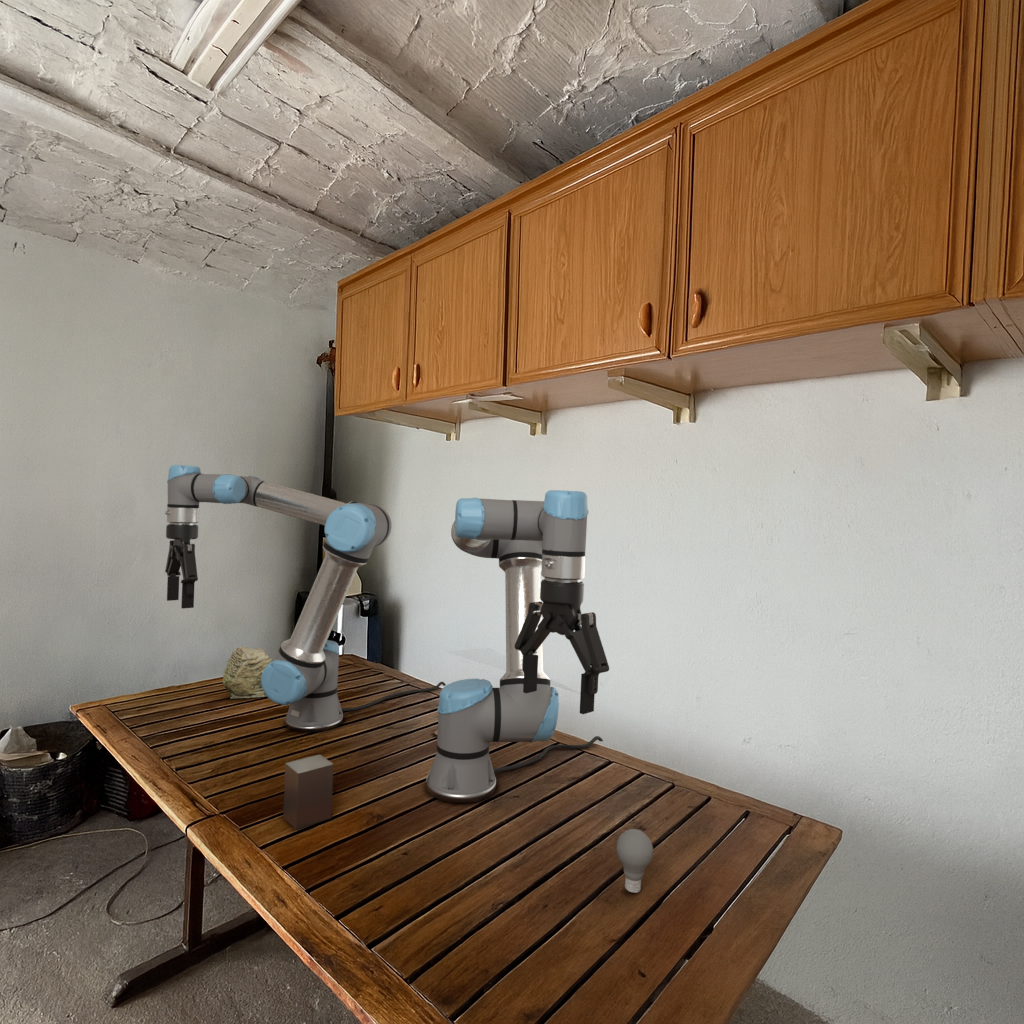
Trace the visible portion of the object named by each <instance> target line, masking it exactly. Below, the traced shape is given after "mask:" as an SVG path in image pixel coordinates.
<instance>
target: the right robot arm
mask: <svg viewBox="0 0 1024 1024" xmlns="http://www.w3.org/2000/svg"><path fill="white" fill-rule="evenodd" d="M588 507H589V506H588V495H587V493H585V492H584V491H581V490H580V491H579V490H557V489H550V490H547V491H546V492H545V494H544V501H543V500H521V499H520V500H519V499H496V498H494V499H493V498H479V497H463V498H459V499H458V500H457V501H456V503H455V512H454V521H453V523H452V524H451V529H450V533H451V534H450V536H451V539H452V542H453V544H454V545H455V546H456V547H457V548H458V549H459V550H460V551H462V552H464V553H466V554H468V555H470V556H475V557H479V558H485V559H497V560H498V567H499V568H500V569H501V570H502V571H503V572H504V574H505V575H504V576H505V578H504V579H505V580H504V583H505V587H504V589H505V673H504V674H503V675H502V677H500V679H499V687H494V686H493V685H492V682H491V681H490V680H487V679H484V678H482V679H481V678H464V679H460V680H455V681H452V682H450V683H449V684H446V686H443V688H442V689H441V691H440V692H439V698H438V705H437V713H438V716H437V717H438V718H437V729H438V734H437V735H436V752H435V753H436V754H435V756H434V758H433V761H432V764H431V767H430V770H429V771H428V773H427V775H426V779H425V783H426V790H427V792H428V794H429V795H431V797H433V798H435V799H436V800H440V801H443V802H447V803H452V804H471V803H477V802H481V801H484V800H487V799H488V798H490V797H491V796H492V795H494V794H495V792H496V787H497V778H496V774H497V773H502V772H506V771H513V770H517V769H521V768H523V767H526V766H530V765H532V764H534V763H536V762H538V761H540V760H542V759H543V758H544V757H545V756H546V754H547V753H548V752H550V751H553V750H558V749H567V750H569V749H570V750H580V749H581V750H582V749H587V748H590V747H591V746H592V745H593V744H594V743H595V742H596V741H598V742H604V740H603V738H602V737H601V736H599V735H596V736H594V737H592V739H591V740H590V741H588V742H587V743H584V744H554V745H549V746H547V747H545V748H544V749H543V750H542V752H541V753H540V754H539V755H537V756H535V757H533V758H531V759H528V760H526V761H523V762H519V763H516V764H513V765H507V766H501V767H496V768H494V767H493V764H492V759H491V756H490V743H531V744H532V743H534V742H547V741H549V740H550V739H551V738H552V737H553V736H554V734H555V731H556V728H557V724H558V720H559V719H558V717H559V713H560V712H559V710H560V697H559V690H558V688H556V687H554V686H551V678H550V677H549V676H548V675H547V674H546V673H545V671H544V647H543V646H544V645H543V643H544V642H545V640H546V639H547V637H548V636H549V635H550V634H551V633H553V634H554V633H556V634H557V635H561V636H564V637H565V639H567V640H568V641H569V642H570V645H571V646H572V648H573V650H574V652H575V654H576V657H577V658H578V661H579V663H580V664H581V666H582V668H583V671H584V672H583V673H581V674H580V693H579V695H580V696H579V714H581V715H586V714H589V713H593V712H595V696H596V694H597V693H598V691H599V675H600V674H602V673H606V672H609V671H610V665H609V662H608V659H607V656H606V652H605V650H604V646H603V643H602V639H601V637H600V633H599V630H598V627H597V614H596V613H595V612H594V611H593V612H582V609H581V606H582V604H583V602H584V598H585V597H584V596H585V595H584V594H585V583H584V582H583V581H582V580H583V579H585V578H586V576H585V575H586V570H585V569H586V551H587V550H586V549H587V531H588V530H587V529H588V528H587V527H588V515H589V508H588ZM541 577H542V578H544V579H542V580H541Z"/></svg>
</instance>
